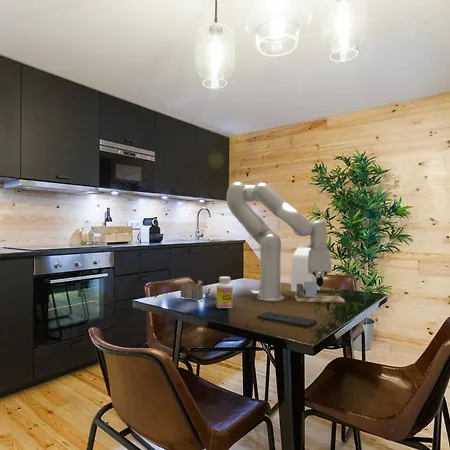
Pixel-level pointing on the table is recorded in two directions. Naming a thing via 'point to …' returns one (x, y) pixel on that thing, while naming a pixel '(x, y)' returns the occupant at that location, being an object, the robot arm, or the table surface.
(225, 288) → the supplement bottle
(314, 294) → the sleeve
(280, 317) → the dark grey flat block
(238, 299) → the table surface
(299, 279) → the milk
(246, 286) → the table surface
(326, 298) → the board
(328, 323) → the table surface
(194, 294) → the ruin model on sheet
